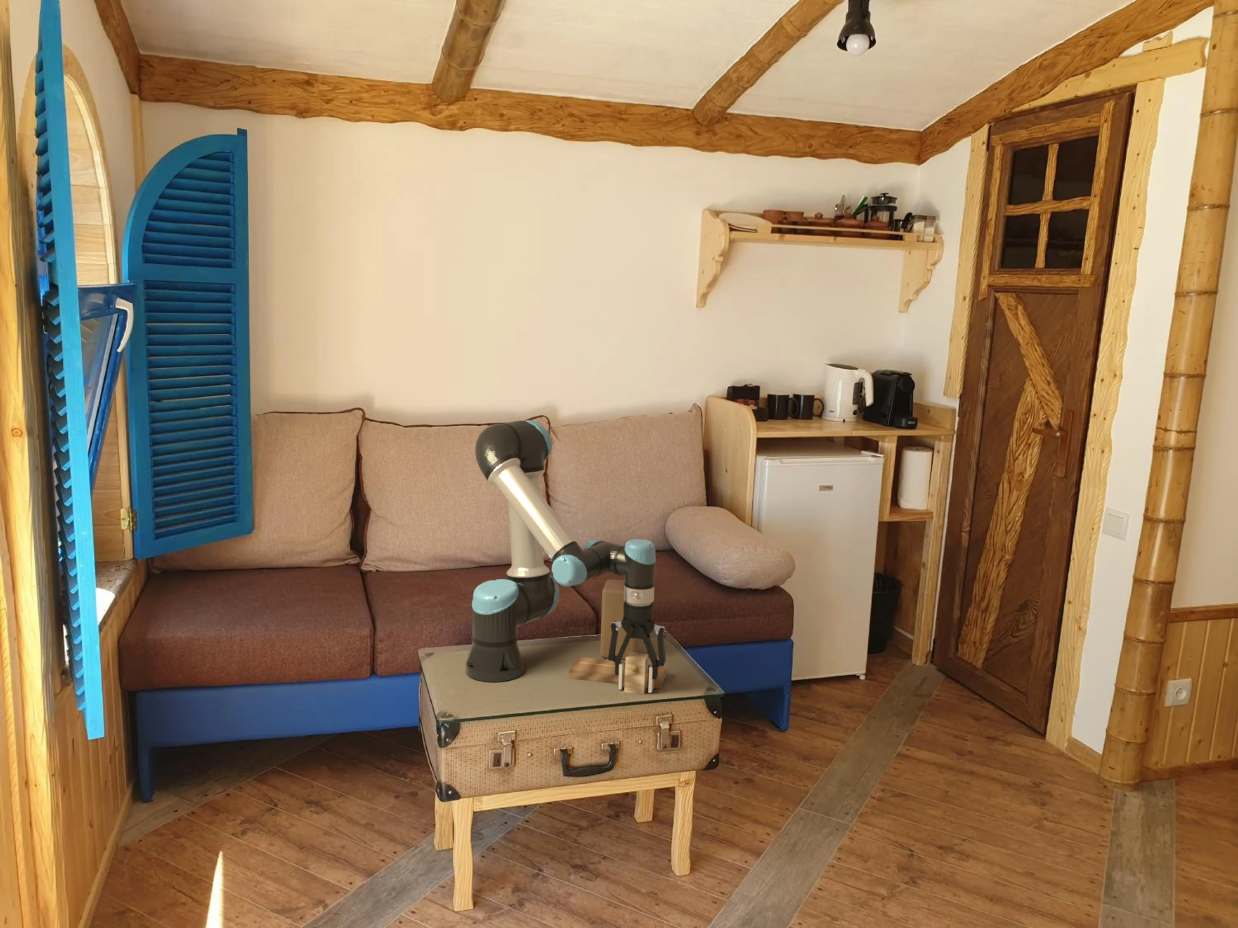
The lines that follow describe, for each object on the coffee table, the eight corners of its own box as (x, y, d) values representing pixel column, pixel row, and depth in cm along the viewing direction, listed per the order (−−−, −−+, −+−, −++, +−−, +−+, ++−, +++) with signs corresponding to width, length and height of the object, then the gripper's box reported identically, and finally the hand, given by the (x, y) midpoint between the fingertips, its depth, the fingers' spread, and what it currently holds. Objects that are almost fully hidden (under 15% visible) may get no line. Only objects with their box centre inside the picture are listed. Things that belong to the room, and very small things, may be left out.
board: (569, 678, 255) (569, 668, 255) (577, 665, 264) (578, 656, 264) (660, 688, 251) (660, 679, 250) (666, 675, 259) (666, 666, 259)
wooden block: (639, 648, 278) (641, 580, 275) (636, 661, 268) (638, 591, 265) (603, 645, 279) (606, 578, 276) (599, 658, 269) (602, 588, 266)
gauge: (624, 692, 248) (625, 658, 246) (634, 672, 261) (635, 639, 259) (643, 694, 247) (644, 660, 245) (652, 674, 260) (654, 641, 258)
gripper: (596, 602, 243) (594, 690, 247) (676, 610, 239) (672, 699, 243) (603, 593, 251) (600, 678, 255) (680, 600, 247) (677, 687, 251)
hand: (635, 688), depth 249 cm, fingers open, 7 cm apart
